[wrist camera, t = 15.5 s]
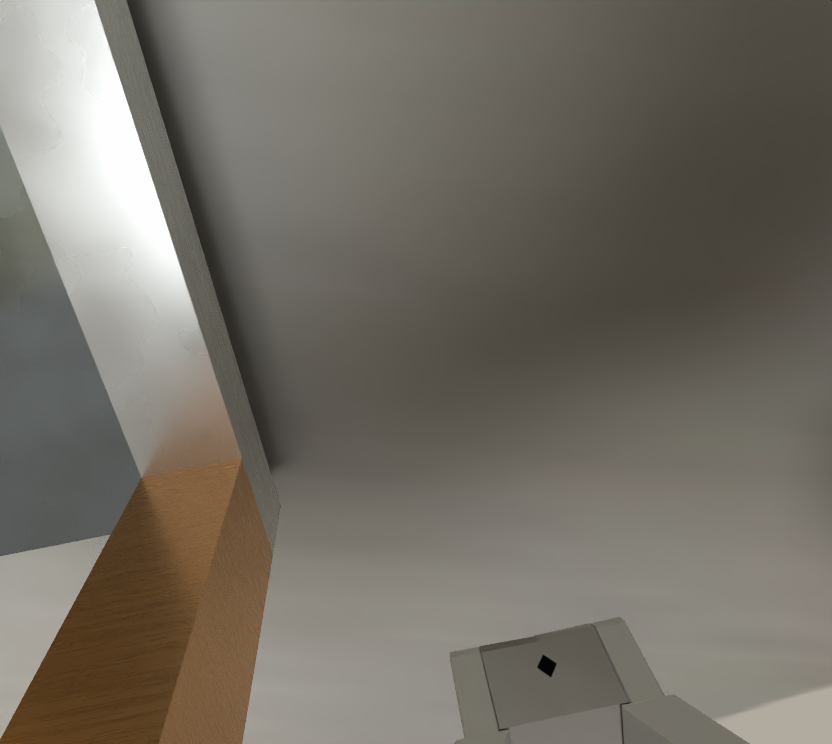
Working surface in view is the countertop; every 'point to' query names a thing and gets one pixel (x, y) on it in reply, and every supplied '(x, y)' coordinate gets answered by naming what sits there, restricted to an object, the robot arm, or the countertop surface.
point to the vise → (50, 397)
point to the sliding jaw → (140, 399)
